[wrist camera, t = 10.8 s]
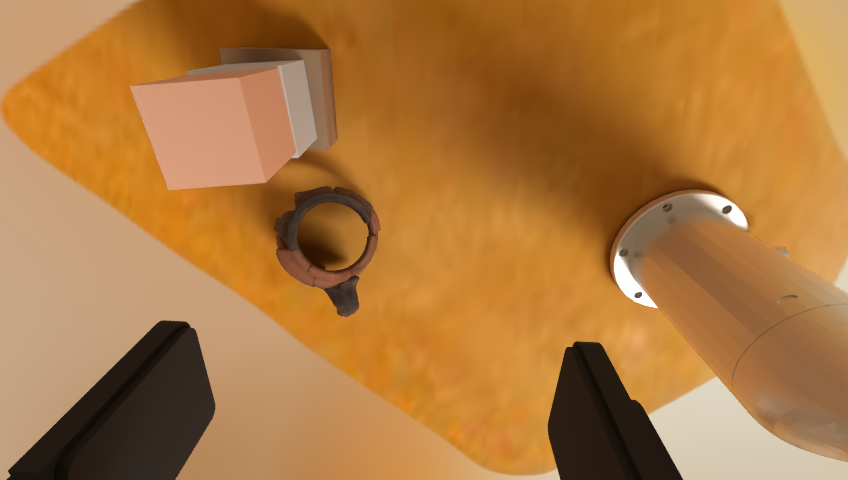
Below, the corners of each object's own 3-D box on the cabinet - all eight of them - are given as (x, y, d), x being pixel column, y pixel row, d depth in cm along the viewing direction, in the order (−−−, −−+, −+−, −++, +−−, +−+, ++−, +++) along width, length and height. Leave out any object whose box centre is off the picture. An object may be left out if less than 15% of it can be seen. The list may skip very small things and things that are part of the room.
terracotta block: (278, 67, 24) (238, 77, 18) (296, 152, 26) (265, 182, 21) (193, 74, 24) (129, 86, 18) (219, 158, 26) (168, 190, 21)
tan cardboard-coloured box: (330, 48, 32) (319, 50, 28) (337, 138, 35) (328, 150, 32) (241, 46, 32) (218, 48, 28) (256, 136, 35) (237, 148, 31)
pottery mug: (256, 210, 38) (252, 208, 31) (348, 174, 41) (366, 164, 33) (309, 322, 41) (318, 346, 33) (393, 280, 43) (419, 294, 36)
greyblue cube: (303, 59, 29) (280, 65, 24) (317, 138, 31) (298, 157, 26) (225, 64, 29) (186, 70, 24) (245, 142, 31) (213, 162, 26)
